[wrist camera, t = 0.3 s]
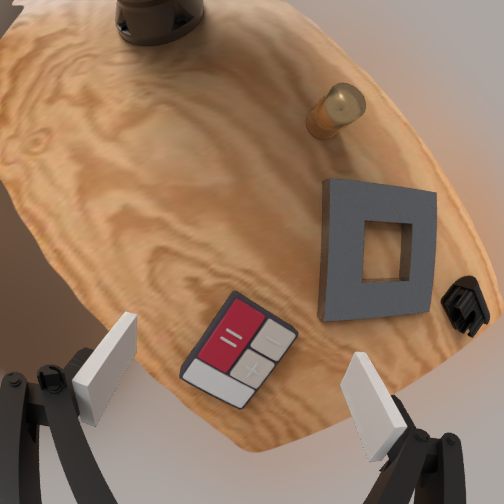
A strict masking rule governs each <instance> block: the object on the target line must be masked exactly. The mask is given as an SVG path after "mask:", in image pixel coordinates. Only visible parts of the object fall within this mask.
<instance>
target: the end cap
mask: <svg viewBox="0 0 504 504" xmlns="http://www.w3.org/2000/svg"><path fill="white" fill-rule="evenodd" d="M441 304H442V306H443V307H444V309H445V311H446V313H447V315H448V317H449V319H450V321H451V323H452V325H453V327H454V329H457V330H458V331H459V332H461V333H463V334H464V333H465V332H466V330H467V329H469V331H470V332H469V333H468V334H467V335H468V336H470V337H472V338H473V337H474V335H475V334H476V333H477V331H478V330H479V328H480V327H481V326H482V324H483V323H484V324H488V322H489V320H490V313H489V310H488V308H487V305H486V302H485V299H484V297H483V294H482V292H481V289H480V287H479V284H478V282H477V279H476V278H475V277H473V276H464V277H462V278H460V279H458V280H457V281H456V282H455V283H454V284H453V285H452V286H451V287H450V288H449V289H448V291H447V292H446V293H445V295H444V296H443V297H442V299H441ZM469 326H470V327H469Z"/></svg>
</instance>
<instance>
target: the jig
mask: <svg viewBox="0 0 504 504" xmlns="http://www.w3.org/2000/svg"><path fill="white" fill-rule="evenodd" d="M365 221H373V222H387V223H401V224H402V241H401V259H400V273H399V278H385V279H362V269H363V252H364V225H365ZM436 230H437V193H435V192H430V191H424V190H418V189H411V188H405V187H398V186H391V185H384V184H376V183H369V182H360V181H352V180H342V179H332V178H329V179H327V180H324V181H323V194H322V241H321V265H320V283H319V299H318V312H317V316H318V317H319V318H320V319H322V320H323V321H324V322H325V321H341V320H354V319H366V318H378V317H388V316H397V315H406V314H415V313H423V312H429V310H430V303H431V295H432V287H433V277H434V266H435V252H436Z"/></svg>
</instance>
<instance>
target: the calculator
mask: <svg viewBox="0 0 504 504" xmlns="http://www.w3.org/2000/svg"><path fill="white" fill-rule="evenodd" d="M297 336H298V331H297V330H296V329H295V328H294V327H293V326H291V325H290V324H288V323H286V322H285V321H283V320H282V319H280V318H278V317H277V316H275V315H273V314H272V313H270V312H269V311H267V310H266V309H264V308H262V307H261V306H259V305H258V304H256V303H254V302H253V301H251V300H250V299H248V298H247V297H245V296H243V295H242V294H240V293H239V292H237V291H233V292H232V293H231V294H230V296H229V297H228V299H227V300H226V302H225V303H224V305H223V306H222V308H221V309H220V310H219V312H218V313H217V315H216V316H215V318H214V319H213V321H212V322H211V324H210V325H209V327H208V328H207V330H206V331H205V333H204V334H203V336H202V337H201V339H200V340H199V342H198V343H197V344H196V346H195V347H194V348H193V350H192V351H191V353H190V354H189V356H188V357H187V358H186V360H185V361H184V363H183V364H182V366H181V369H180V374H179V377H180V379H182V380H184V381H185V382H187V383H189V384H191V385H193V386H194V387H196V388H198V389H200V390H202V391H204V392H206V393H208V394H210V395H211V396H213V397H215V398H217V399H219V400H221V401H223V402H225V403H227V404H229V405H231V406H234V407H236V408H238V409H243V408H244V407H245V406H246V405H247V403H248V402H249V401H250V399H251V398H252V397H253V396H254V394H255V393H256V392H257V390H258V389H259V388H260V387H261V385H262V384H263V383H264V381H265V380H266V379H267V377H268V376H269V375H270V373H271V372H272V371H273V369H274V368H275V367H276V365H277V364H278V363H279V361H280V360H281V358H282V357H283V356H284V354H285V353H286V352H287V350H288V349H289V347H290V346H291V345H292V343H293V342H294V340H295V339H296V337H297Z"/></svg>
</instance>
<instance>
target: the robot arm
mask: <svg viewBox="0 0 504 504" xmlns="http://www.w3.org/2000/svg"><path fill="white" fill-rule="evenodd" d="M202 15H203V0H117V7H116V17H115V22H116V26H117V29H118V31H119V33H120V35H121V36H122V37H123V38H124V39H125V40H126V41H128V42H130V43H132V44H136V45H142V46H153V45H160V44H164V43H168V42H171V41H174V40H176V39H178V38H180V37H182V36H184V35H186V34H187V33H189V32H190V31H191V30H192V29H193V28H195V26H196V25H197V24H198V23H199V21H200V20H201V18H202ZM136 353H137V314H133V313H129V312H126V311H125V313H124V314H123V315H122V316H121V318H120V319H119V320H118V321H117V323H116V324H115V325H114V326H113V327H112V329H111V330H110V331H109V333H108V334H107V335H106V336H105V338H104V339H103V340H102V341H101V343H100V344H99V345H98V347H97V348H96V349H95V350H92V349H89V348H83V349H81V350H80V351H78V352H77V353H76V354H75V356H74V357H73V358H72V359H71V360H70V362H69V363H68V364H67V365H66V367H65V368H64V369H62V368H60V367H59V366H56V365H45V366H43V367H41V368H40V369H39V370H38V372H37V378H38V382H39V384H35V383H29V382H27V380H26V378H25V376H24V375H23V374H21V373H18V372H11V373H8V374H7V375H5V376H4V378H3V379H2V383H1V387H0V504H42V501H41V490H40V474H39V426H40V425H44V426H49V427H50V430H51V433H52V437H53V440H54V443H55V447H56V450H57V453H58V456H59V459H60V461H61V464H62V467H63V470H64V472H65V475H66V477H67V480H68V483H69V485H70V487H71V490H72V492H73V494H74V497H75V499H76V501H77V503H78V504H118V503H117V501H116V500H115V498H114V496H113V494H112V492H111V491H110V489H109V487H108V485H107V483H106V481H105V479H104V477H103V475H102V473H101V471H100V469H99V467H98V465H97V463H96V461H95V459H94V456H93V454H92V452H91V450H90V447H89V445H88V443H87V440H86V438H85V435H84V433H83V430H82V428H81V425H80V422H79V420H78V416H79V415H80V418H81V421H82V422H83V423H86V424H89V425H91V426H94V427H96V426H97V424H98V422H99V420H100V418H101V416H102V415H103V413H104V411H105V409H106V407H107V405H108V403H109V401H110V400H111V398H112V396H113V394H114V392H115V390H116V388H117V386H118V385H119V383H120V381H121V379H122V377H123V376H124V374H125V372H126V370H127V369H128V367H129V365H130V363H131V361H132V360H133V358H134V356H135V354H136ZM340 387H341V389H342V392H343V394H344V397H345V400H346V402H347V405H348V407H349V410H350V413H351V415H352V418H353V421H354V423H355V426H356V428H357V431H358V434H359V437H360V439H361V442H362V444H363V448H364V450H365V453H366V456H367V459H368V461H369V462H375V461H381V460H382V459H383V458H384V457H385V456H386V454H387V455H388V457H389V460H388V461H387V462H386V463H385V464H384V466H383V467H382V468H381V469H380V470H379V471H381V473H380V475H379V477H378V479H377V481H376V482H375V484H374V486H373V488H372V490H371V491H370V493H369V495H368V496H367V498H366V500H365V501H364V503H363V504H409V501H410V499H411V497H412V494H413V491H414V489H415V496H414V504H466V487H465V474H464V464H463V454H462V447H461V441H460V439H459V438H458V436H456V435H455V434H452V433H445V434H444V435H443V436H442V437H441V439H437V438H430V436H429V434H428V433H427V432H426V431H424V430H422V429H417V428H416V427H415V425H414V423H413V421H412V420H411V418H410V416H409V414H408V413H407V411H406V409H405V408H404V406H403V404H402V402H401V401H400V400H399V399H398V398H397V397H396V396H395V395H390V394H389V392H388V391H387V389H386V387H385V385H384V383H383V382H382V380H381V378H380V376H379V375H378V373H377V371H376V370H375V368H374V366H373V364H372V363H371V361H370V359H369V358H368V356H367V354H366V353H365V352H355V353H354V355H353V357H352V360H351V362H350V364H349V366H348V369H347V371H346V373H345V375H344V377H343V380H342V382H341V384H340Z"/></svg>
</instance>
